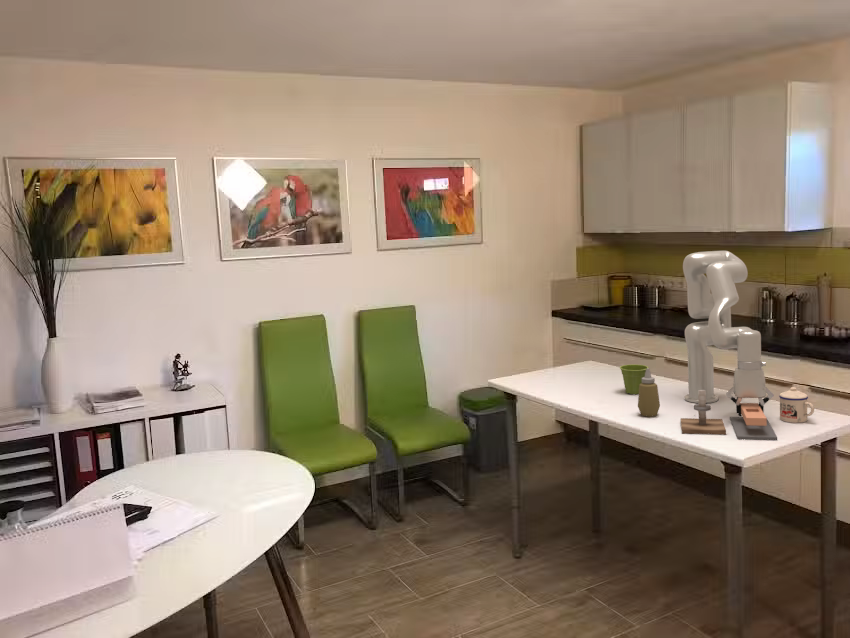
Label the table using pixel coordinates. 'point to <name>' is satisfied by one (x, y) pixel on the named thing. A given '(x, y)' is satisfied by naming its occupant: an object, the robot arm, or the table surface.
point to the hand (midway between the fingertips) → (749, 415)
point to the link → (753, 414)
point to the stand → (702, 420)
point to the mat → (752, 430)
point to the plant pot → (633, 377)
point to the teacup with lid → (794, 406)
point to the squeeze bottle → (648, 396)
